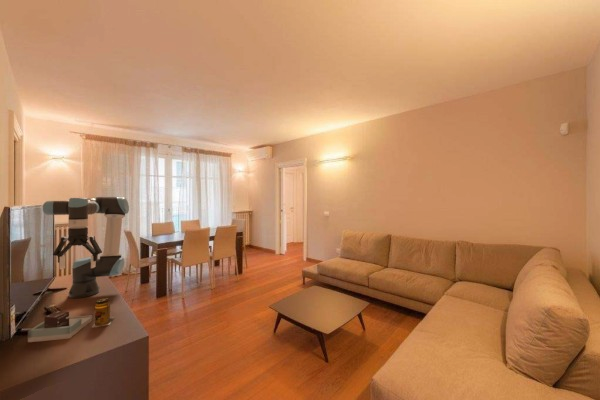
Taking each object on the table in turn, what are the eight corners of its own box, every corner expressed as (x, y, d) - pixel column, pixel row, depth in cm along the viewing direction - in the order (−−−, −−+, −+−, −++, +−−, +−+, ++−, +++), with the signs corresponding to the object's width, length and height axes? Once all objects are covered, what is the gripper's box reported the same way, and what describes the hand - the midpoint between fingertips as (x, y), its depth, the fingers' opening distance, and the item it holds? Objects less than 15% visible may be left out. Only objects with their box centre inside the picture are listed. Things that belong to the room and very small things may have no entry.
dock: (56, 322, 123) (56, 313, 123) (92, 319, 127) (92, 310, 127) (27, 342, 107) (28, 330, 107) (69, 338, 110) (70, 327, 110)
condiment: (91, 328, 119) (91, 303, 119) (97, 320, 127) (97, 297, 127) (109, 325, 122) (110, 301, 122) (114, 317, 130) (114, 294, 130)
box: (55, 333, 110) (56, 317, 110) (43, 332, 111) (43, 316, 111) (69, 326, 116) (69, 311, 116) (57, 325, 117) (58, 310, 117)
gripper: (43, 228, 120) (43, 271, 120) (102, 227, 126) (101, 269, 126) (54, 226, 127) (54, 267, 128) (109, 226, 133) (109, 265, 133)
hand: (78, 268), depth 127 cm, fingers open, 13 cm apart
